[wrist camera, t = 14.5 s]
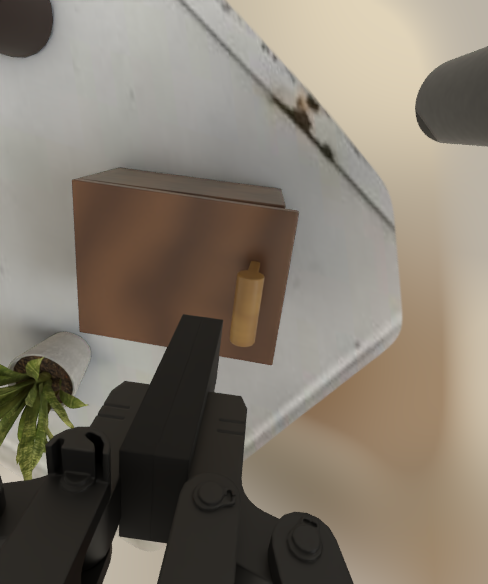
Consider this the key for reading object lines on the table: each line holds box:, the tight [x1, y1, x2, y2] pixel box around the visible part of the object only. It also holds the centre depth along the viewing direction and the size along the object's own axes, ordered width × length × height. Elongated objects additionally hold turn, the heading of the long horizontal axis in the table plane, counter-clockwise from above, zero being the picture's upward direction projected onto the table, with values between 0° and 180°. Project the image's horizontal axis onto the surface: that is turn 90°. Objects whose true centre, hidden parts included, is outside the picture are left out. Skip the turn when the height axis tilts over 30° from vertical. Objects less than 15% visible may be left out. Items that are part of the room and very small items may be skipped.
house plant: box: [0, 332, 91, 481], centre depth 38 cm, size 14×14×16 cm
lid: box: [72, 179, 299, 365], centre depth 28 cm, size 16×13×5 cm
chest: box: [78, 168, 286, 209], centre depth 35 cm, size 16×13×9 cm
